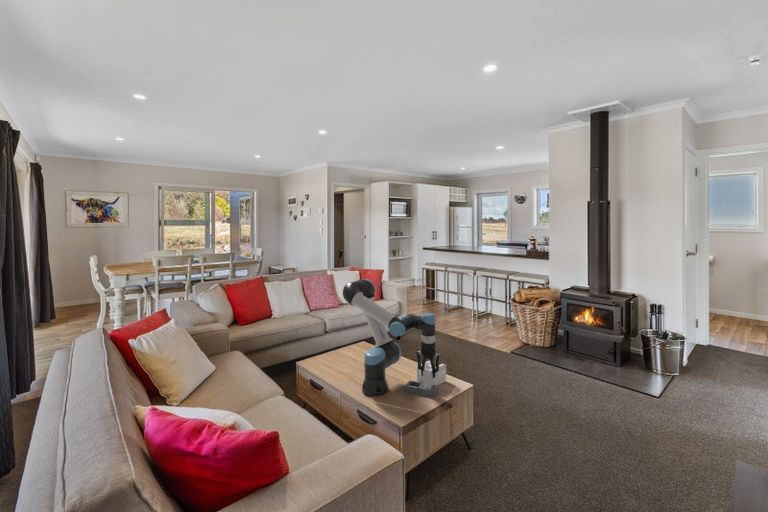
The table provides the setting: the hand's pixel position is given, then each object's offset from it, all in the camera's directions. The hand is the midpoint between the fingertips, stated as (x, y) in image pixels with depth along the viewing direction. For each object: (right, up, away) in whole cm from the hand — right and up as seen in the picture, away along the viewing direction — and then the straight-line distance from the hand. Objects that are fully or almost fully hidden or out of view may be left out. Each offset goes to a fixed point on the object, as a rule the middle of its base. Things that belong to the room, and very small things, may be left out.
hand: (428, 382), depth 205 cm
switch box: (-3, -6, +2) cm, 8 cm away
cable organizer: (+4, -5, +13) cm, 15 cm away
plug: (0, -5, +1) cm, 5 cm away
